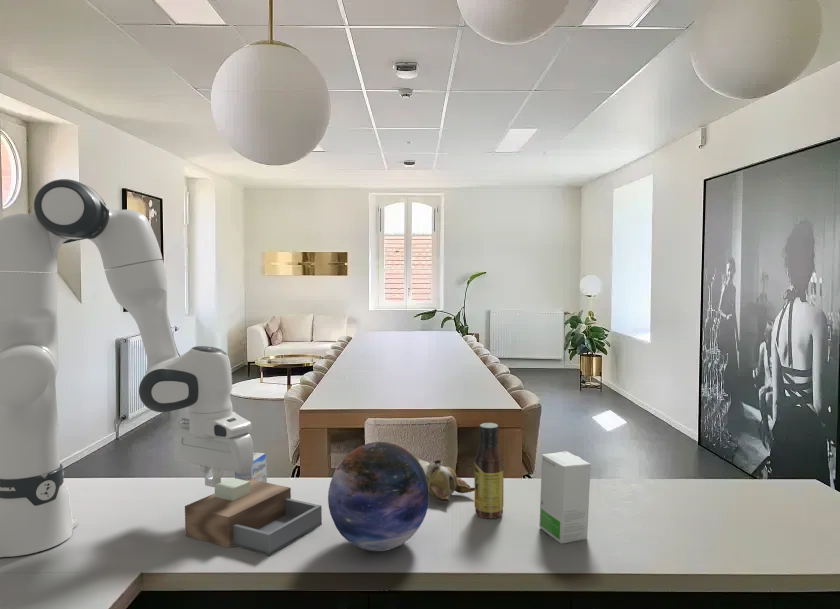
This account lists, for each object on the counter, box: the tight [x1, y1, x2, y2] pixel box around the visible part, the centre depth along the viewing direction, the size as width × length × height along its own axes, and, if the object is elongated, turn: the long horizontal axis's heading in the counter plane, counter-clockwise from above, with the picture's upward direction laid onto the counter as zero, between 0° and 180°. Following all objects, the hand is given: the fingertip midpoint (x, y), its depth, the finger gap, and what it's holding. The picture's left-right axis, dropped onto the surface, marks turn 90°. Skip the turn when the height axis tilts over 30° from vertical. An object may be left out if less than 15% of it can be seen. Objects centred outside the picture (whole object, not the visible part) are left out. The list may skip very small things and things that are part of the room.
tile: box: [214, 477, 250, 501], centre depth 130 cm, size 5×5×2 cm
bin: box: [233, 498, 323, 557], centre depth 125 cm, size 9×16×4 cm, turn 152°
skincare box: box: [539, 450, 591, 545], centre depth 125 cm, size 8×7×16 cm
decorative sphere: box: [327, 441, 430, 552], centre depth 119 cm, size 19×20×20 cm
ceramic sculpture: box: [416, 458, 475, 503], centre depth 146 cm, size 11×9×15 cm
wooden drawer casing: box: [184, 479, 292, 549], centre depth 130 cm, size 12×18×6 cm, turn 152°
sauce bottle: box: [473, 422, 504, 519], centre depth 134 cm, size 7×6×20 cm
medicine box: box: [234, 452, 268, 483], centre depth 148 cm, size 8×4×9 cm, turn 168°
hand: (213, 485), depth 133 cm, fingers closed
